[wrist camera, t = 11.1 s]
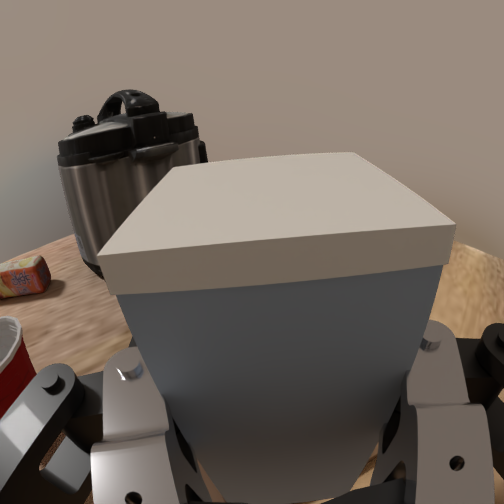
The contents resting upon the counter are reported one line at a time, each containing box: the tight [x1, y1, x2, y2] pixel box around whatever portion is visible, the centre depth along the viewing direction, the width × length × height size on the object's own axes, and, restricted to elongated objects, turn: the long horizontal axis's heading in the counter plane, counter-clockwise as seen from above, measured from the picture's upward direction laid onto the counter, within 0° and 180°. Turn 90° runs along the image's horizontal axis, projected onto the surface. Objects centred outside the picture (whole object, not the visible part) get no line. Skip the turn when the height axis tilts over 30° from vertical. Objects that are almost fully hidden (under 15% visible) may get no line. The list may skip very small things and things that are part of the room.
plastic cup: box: [0, 316, 37, 420], centre depth 21 cm, size 11×11×12 cm
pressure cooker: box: [57, 90, 208, 276], centre depth 54 cm, size 30×28×32 cm
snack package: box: [0, 256, 51, 299], centre depth 47 cm, size 21×7×7 cm, turn 103°
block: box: [97, 152, 456, 504], centre depth 8 cm, size 5×5×11 cm
